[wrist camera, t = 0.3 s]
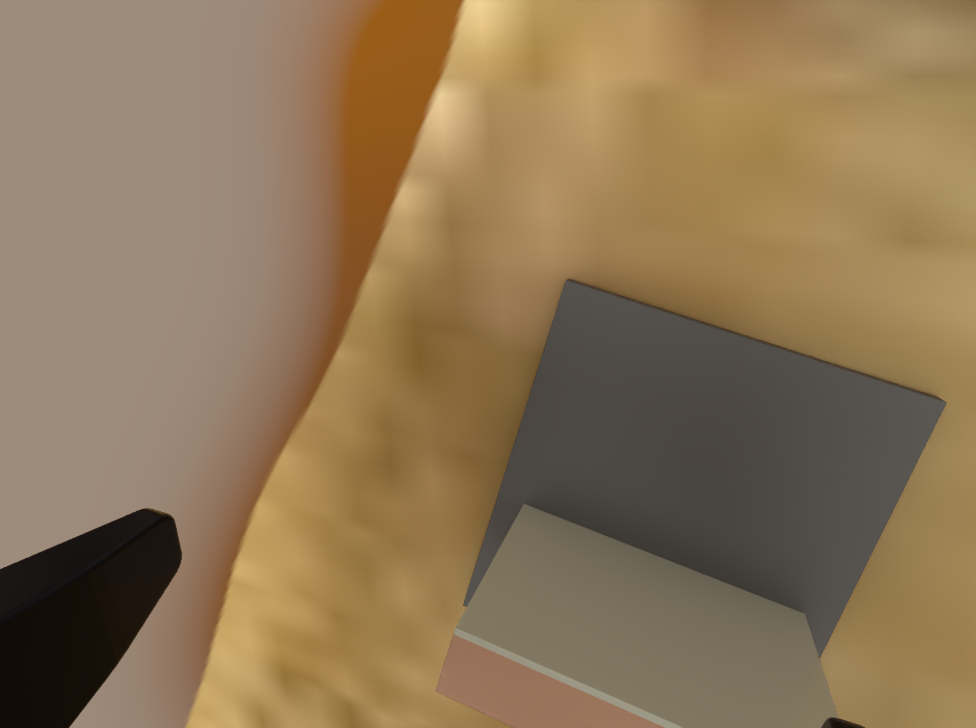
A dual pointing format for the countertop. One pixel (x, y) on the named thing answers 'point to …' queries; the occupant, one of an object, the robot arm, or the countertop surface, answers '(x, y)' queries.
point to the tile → (625, 641)
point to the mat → (712, 451)
